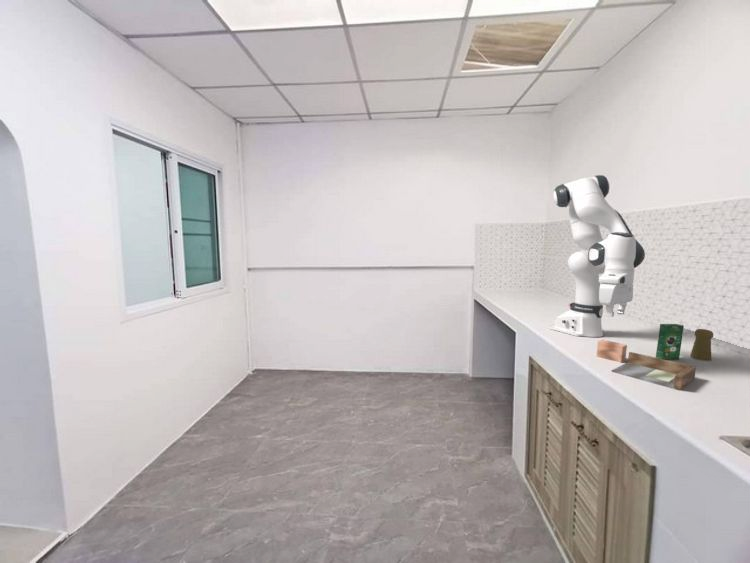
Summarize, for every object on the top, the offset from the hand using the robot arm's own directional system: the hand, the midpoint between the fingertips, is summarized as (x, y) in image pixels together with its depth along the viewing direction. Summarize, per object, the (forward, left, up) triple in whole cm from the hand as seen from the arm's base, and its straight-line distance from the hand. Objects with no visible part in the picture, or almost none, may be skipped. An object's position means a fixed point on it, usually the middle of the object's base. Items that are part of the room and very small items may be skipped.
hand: (615, 315), depth 128 cm
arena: (+14, -7, -16) cm, 23 cm away
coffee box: (+12, +19, -16) cm, 28 cm away
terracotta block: (0, 0, -16) cm, 16 cm away
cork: (+19, +31, -16) cm, 40 cm away
